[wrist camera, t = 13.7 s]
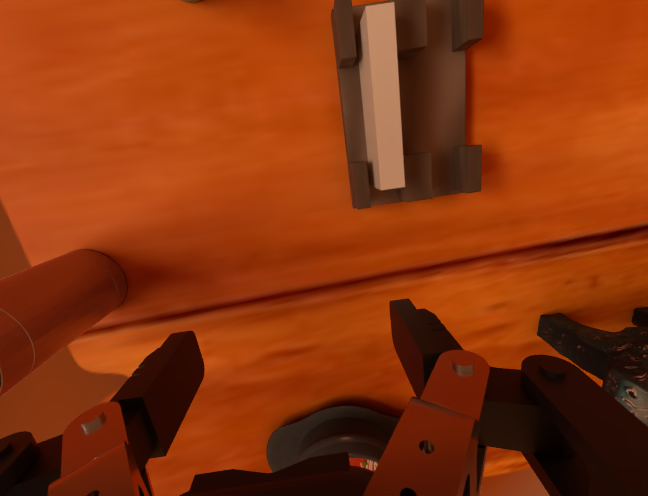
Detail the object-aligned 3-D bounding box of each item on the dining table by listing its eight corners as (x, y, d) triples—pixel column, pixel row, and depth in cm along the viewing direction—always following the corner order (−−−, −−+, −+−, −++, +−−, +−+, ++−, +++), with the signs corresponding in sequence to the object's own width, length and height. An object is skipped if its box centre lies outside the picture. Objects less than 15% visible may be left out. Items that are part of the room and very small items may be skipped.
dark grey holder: (352, 206, 39) (358, 213, 34) (331, 15, 32) (334, -9, 28) (459, 190, 39) (480, 195, 34) (458, -4, 32) (484, -31, 28)
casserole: (419, 390, 48) (440, 437, 40) (414, 475, 53) (432, 532, 45) (262, 400, 47) (252, 450, 39) (273, 485, 53) (266, 544, 45)
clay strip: (370, 185, 36) (380, 190, 31) (355, 33, 32) (365, 6, 26) (390, 182, 36) (405, 186, 31) (379, 29, 32) (394, 1, 26)
